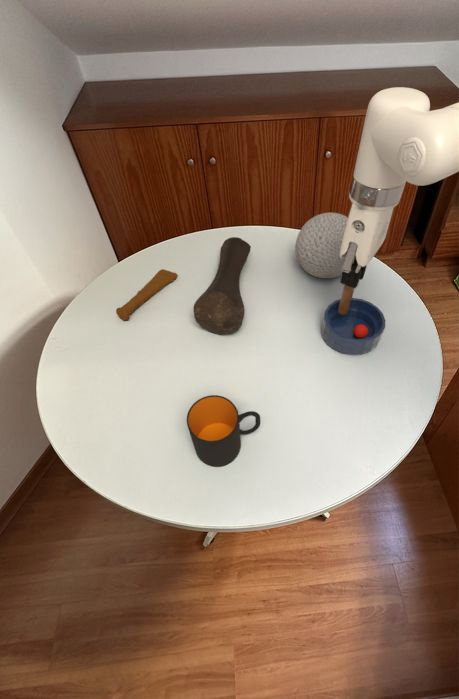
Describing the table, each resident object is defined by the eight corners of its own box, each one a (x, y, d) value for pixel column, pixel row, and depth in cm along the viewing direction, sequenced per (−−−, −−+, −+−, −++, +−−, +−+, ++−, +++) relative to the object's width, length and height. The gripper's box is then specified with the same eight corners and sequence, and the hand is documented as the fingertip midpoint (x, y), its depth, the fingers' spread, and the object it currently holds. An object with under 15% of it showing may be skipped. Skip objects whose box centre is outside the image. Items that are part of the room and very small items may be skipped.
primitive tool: (162, 270, 97) (159, 259, 94) (179, 275, 95) (177, 265, 92) (116, 318, 87) (111, 308, 84) (134, 326, 85) (130, 316, 82)
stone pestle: (228, 347, 82) (243, 276, 102) (250, 317, 75) (262, 246, 94) (183, 327, 80) (208, 258, 99) (202, 293, 73) (224, 226, 92)
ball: (368, 334, 79) (372, 324, 77) (363, 343, 77) (366, 334, 75) (355, 328, 80) (358, 319, 78) (349, 337, 79) (352, 328, 76)
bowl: (387, 327, 81) (394, 311, 77) (365, 365, 75) (371, 350, 71) (335, 306, 85) (339, 290, 81) (311, 341, 79) (314, 325, 76)
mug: (266, 454, 64) (268, 428, 56) (199, 472, 63) (191, 448, 55) (253, 414, 69) (253, 384, 61) (191, 429, 68) (182, 401, 60)
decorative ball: (287, 256, 98) (291, 203, 86) (343, 249, 98) (354, 196, 86) (301, 294, 88) (307, 242, 76) (362, 287, 89) (378, 233, 77)
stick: (349, 310, 77) (365, 255, 66) (345, 316, 76) (360, 261, 65) (340, 306, 78) (354, 252, 66) (336, 312, 77) (349, 258, 66)
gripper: (381, 221, 50) (353, 314, 65) (418, 171, 58) (385, 264, 72) (330, 207, 53) (314, 298, 68) (372, 160, 61) (349, 251, 75)
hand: (351, 280), depth 70 cm, fingers closed on stick, 2 cm apart
